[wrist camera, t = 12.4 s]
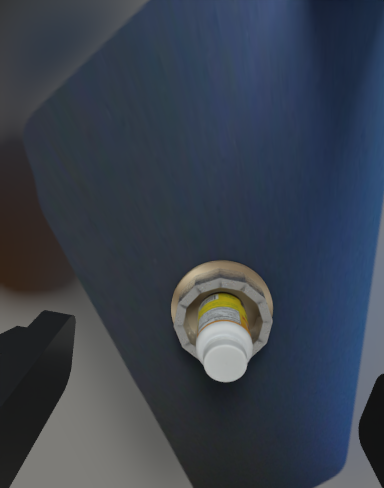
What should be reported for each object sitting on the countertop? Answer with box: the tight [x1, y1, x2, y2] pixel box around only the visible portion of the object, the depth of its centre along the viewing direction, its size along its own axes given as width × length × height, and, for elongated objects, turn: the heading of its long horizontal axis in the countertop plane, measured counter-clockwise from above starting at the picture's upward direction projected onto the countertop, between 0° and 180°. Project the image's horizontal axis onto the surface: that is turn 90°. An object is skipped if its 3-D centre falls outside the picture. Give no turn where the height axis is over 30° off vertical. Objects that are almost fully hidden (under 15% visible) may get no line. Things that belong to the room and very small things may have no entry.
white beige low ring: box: [174, 268, 273, 360], centre depth 39 cm, size 10×10×3 cm
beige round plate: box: [171, 260, 273, 333], centre depth 41 cm, size 12×12×1 cm
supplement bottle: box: [196, 291, 253, 382], centre depth 36 cm, size 6×6×10 cm
